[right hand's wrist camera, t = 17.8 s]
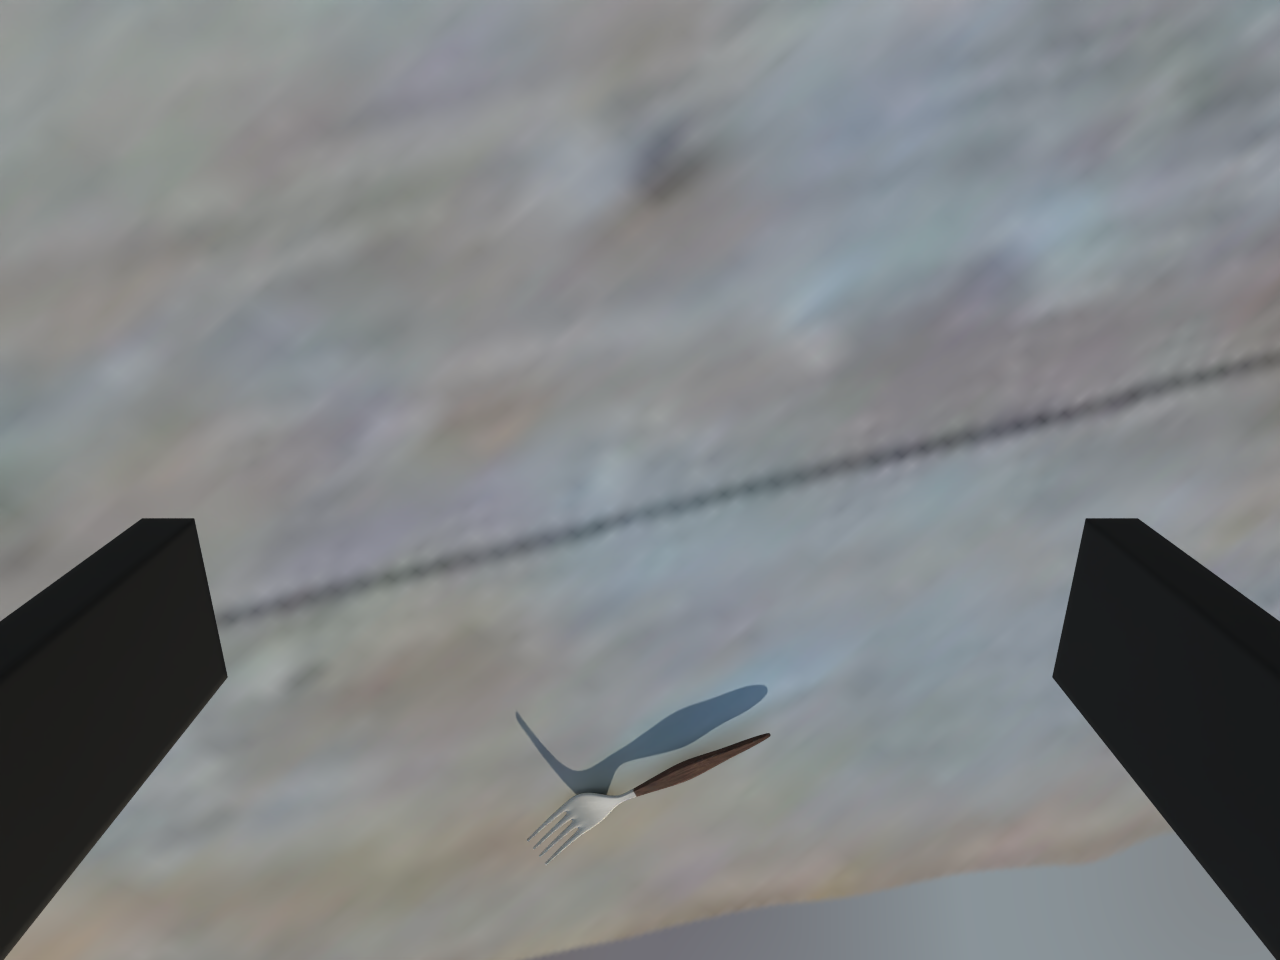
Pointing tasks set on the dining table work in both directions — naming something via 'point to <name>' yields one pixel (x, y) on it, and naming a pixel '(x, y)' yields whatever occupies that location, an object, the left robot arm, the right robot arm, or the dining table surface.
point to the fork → (633, 793)
